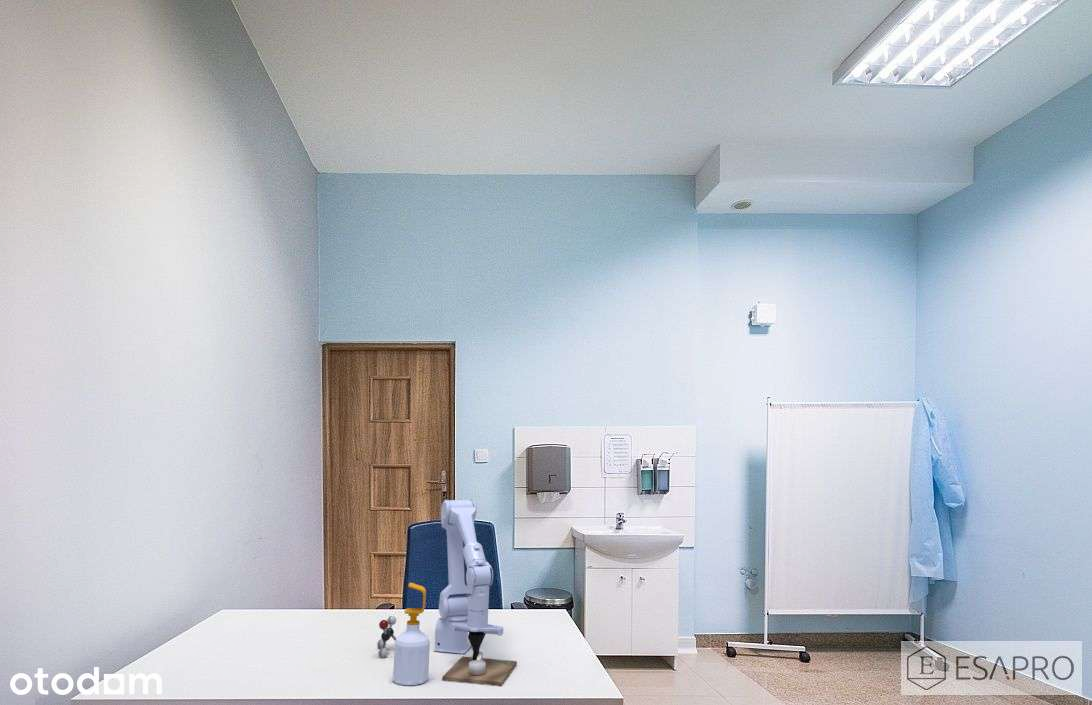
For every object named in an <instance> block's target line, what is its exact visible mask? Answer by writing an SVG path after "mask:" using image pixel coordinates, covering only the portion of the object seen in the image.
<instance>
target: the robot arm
mask: <svg viewBox="0 0 1092 705" xmlns="http://www.w3.org/2000/svg"><path fill="white" fill-rule="evenodd" d="M477 507H478V506H477V504H476V502H475V500H474V499H457V500H456V499H454V500H453V499H451V500H450V499H449V500H448V499H444V501H442V504H441V508H440V520H441V521H440V523H441V528H442V529H444V530H446V531H445V532H446V541H447V542H446V547H447V550H446V551H447V569H448V570H447V571H448V572H447V573H448V577H447V578H448V585H447V586H446V587H445V588H444V589H442V590H441V592H440V593H439V601H438V612H439V616H440V617H439V618H437V621H436V623H435V629H434V630H435V632H434V648H433V652H438V651H439V652H440V653H451V654H460V655H461V654H463V655H464V654H465V653H466V652H468V650H470V648H471V649H472V657H473V660H477V657H478V654H479V652H480V648H481V645H482V643H483V641H484V638H486V637H485V636H486V635H497V636H499V637H500V636H503V635H504V626H501V625H500V626H498V625H493V624H489V603H490V600H489V599H490V586H492V585H493V581H494V570H493V568H492V565H491V564H490V563H489V561H487V559H486V556H485V553H484V549H483V546H482V544H481V543H480V542H478V541H477V534H476V529H475V528H476V527H475V523H474V522H475V520H476V516H477V512H478V510H477ZM465 567H466V573H465ZM465 579H466V580H465ZM450 595H451V596H450ZM468 641H469V644H468Z"/></svg>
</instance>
